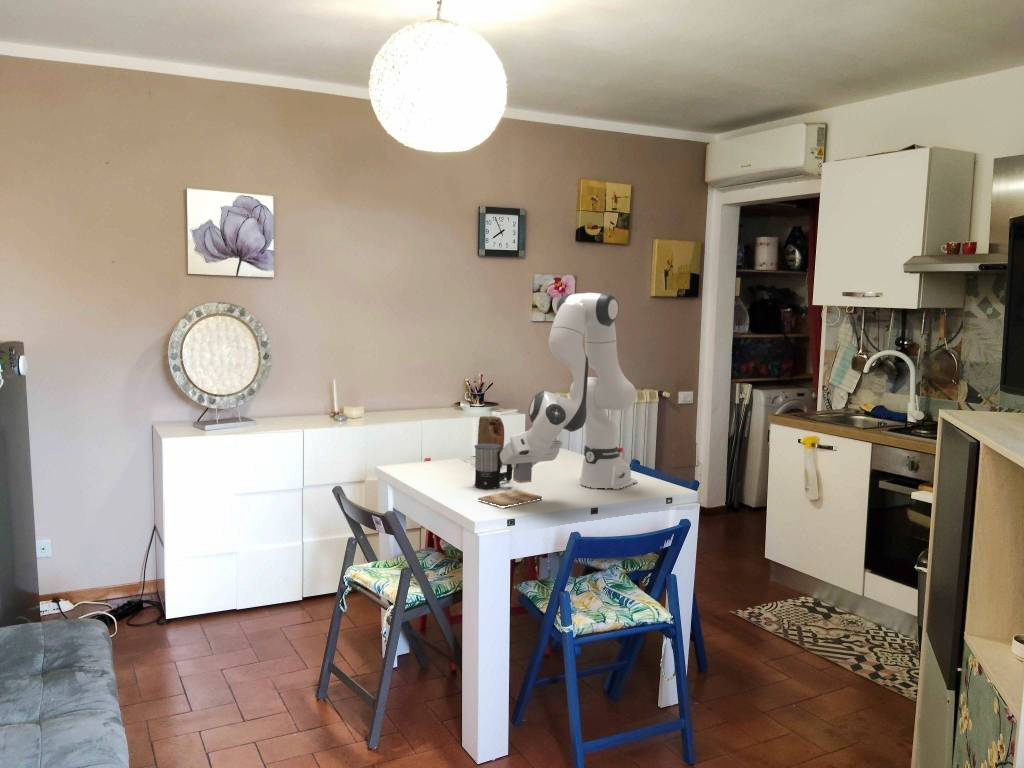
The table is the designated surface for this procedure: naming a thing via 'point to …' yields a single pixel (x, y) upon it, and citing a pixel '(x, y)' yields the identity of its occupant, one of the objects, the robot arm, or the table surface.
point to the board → (510, 498)
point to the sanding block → (523, 473)
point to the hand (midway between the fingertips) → (521, 466)
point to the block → (491, 431)
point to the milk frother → (489, 466)
